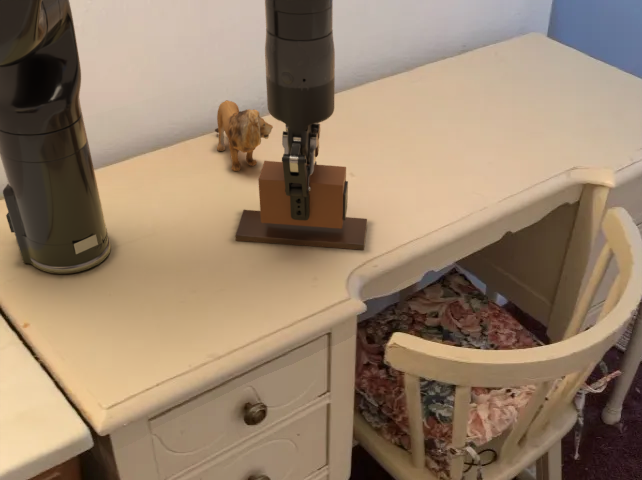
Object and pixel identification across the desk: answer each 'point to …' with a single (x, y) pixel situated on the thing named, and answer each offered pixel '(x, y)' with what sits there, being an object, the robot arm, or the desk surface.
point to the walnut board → (302, 232)
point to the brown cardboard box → (323, 197)
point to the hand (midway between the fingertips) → (303, 206)
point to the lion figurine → (240, 131)
